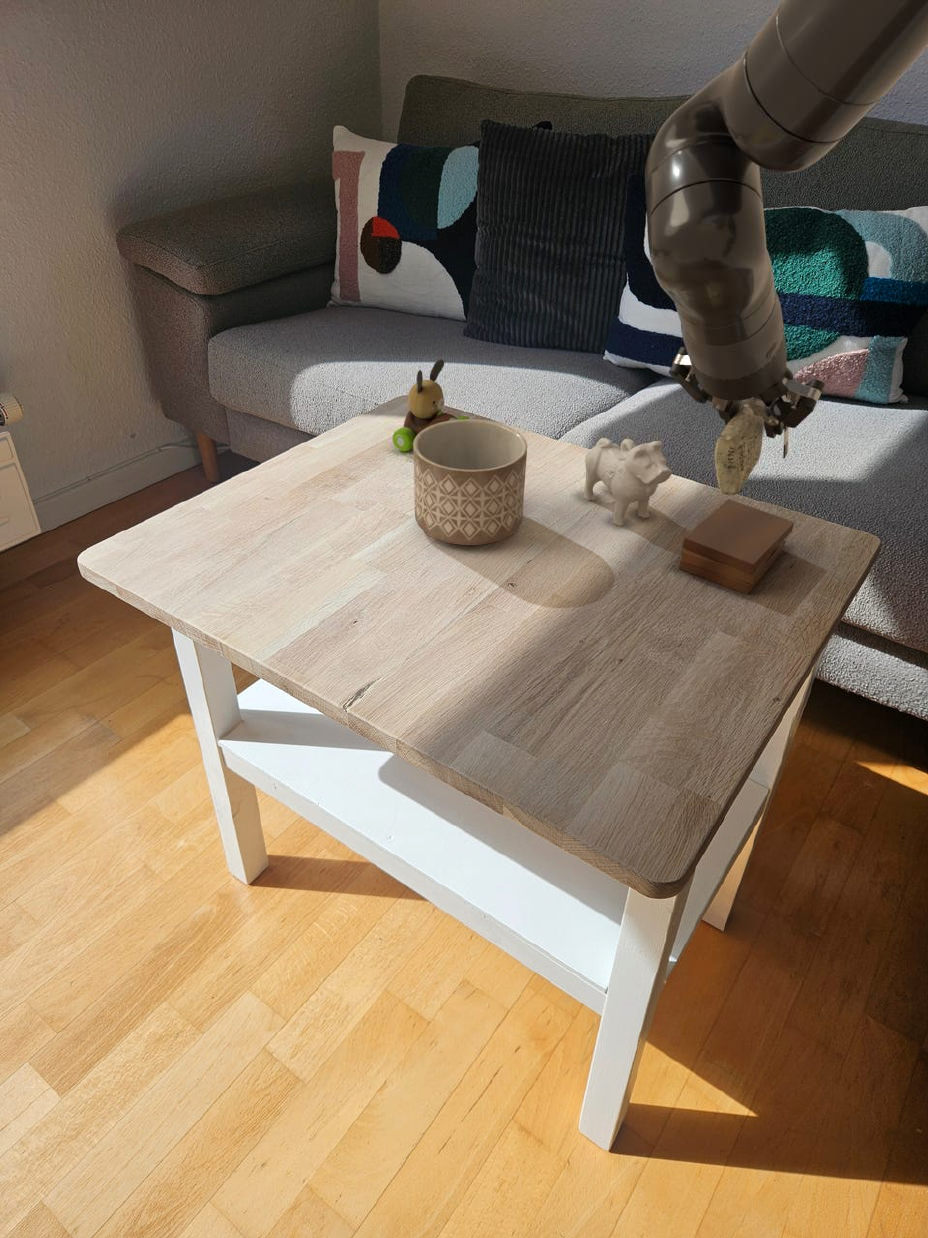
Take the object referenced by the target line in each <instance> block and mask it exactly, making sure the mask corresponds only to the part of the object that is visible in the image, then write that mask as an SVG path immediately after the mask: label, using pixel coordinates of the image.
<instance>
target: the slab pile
mask: <svg viewBox="0 0 928 1238" xmlns="http://www.w3.org/2000/svg"><path fill="white" fill-rule="evenodd" d="M794 526H795V521H792V520H789V519H786V518H784V517H782V516H778V515H776V514H773V513H770V512H767V511H764V510H761V509H758V508H757V507H752V506H750V505H747V504H744V503H741V502H739V501H736V500H733V499H731V498H727V499H726V500H725V501H724V502H723V503H722V504H721V505H720V506H718V507H717V508H715V509H714V511H713V512H712V513H710V515H708V516H707V517H706V518H705V519H704V520H702V521H701V523H699V524H698V525H697V526H696V527H694V528H693V529H692V530H691V531H690V532H689V533H688V534H686V536H684V537H683V542H682V546H681V547H682V548H683V551H682V553H681V557H680V559H679V565H678V570H681V571H684V572H686V573H689V574H692V575H695V576H697V577H700V578H703V579H705V580H708V581H710V582H713V583H716V584H717V585H718V584H719V585H721V586H724V587H726V588H729V589H732V590H735V591H737V592H740V593H743V594H745V595H748V594H749V593H750V592H751V590H753V588H754V587H755V586H756V584H757V583H758V582H759V580H760V579H761V578H762V577H763V575H764V574H765V573H766V572H767V571H768V569H769V568H770V567H771V566H772V564H773V563H774V561H776V559H777V558H778V557H779V555H780V554H781V553H782V552H783V551H784V549H785V545H786V542H787V541H786V540H785V539H787V537H789V535H790V534H791V533H792V532H793V529H794Z"/></svg>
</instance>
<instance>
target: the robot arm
mask: <svg viewBox="0 0 928 1238" xmlns="http://www.w3.org/2000/svg"><path fill="white" fill-rule="evenodd" d="M927 48H928V0H781V1H780V3H779V4H778V6H777V7H776V8H775V10H773V12H772V14H771V15H770V16H769V17H768V19H767V21H765V23H764V24H763V26H762V27H761V28H760V30H759V31H758V32H757V34H756V36H755V37H754V38H753V40H752V41H751V42H750V43H749V45H748V46H747V48H746V49H745V50H744V52H743V54H742V55H741V57H740V58H739V59H738V60H737V61H736V62H734V63H733V64H732V65H731V66H729V67H728V68H727V69H725V70H724V71H722V72H721V73H720V74H719V75H717V76H716V77H714V78H713V79H712V80H711V81H710V82H708V83H707V84H706V85H704V86H703V88H701V89H700V90H699V91H698V92H696V93H695V94H694V95H693V96H691V98H689V99H688V100H687V101H685V103H683V104H682V105H681V106H679V107H678V108H677V109H675V111H673V113H672V114H671V115H670V116H669V117H668V118H667V119H666V120H665V122H663V124H662V126H661V127H660V128H659V130H658V132H657V134H656V136H655V137H654V139H653V141H652V144H651V146H650V148H649V150H648V151H649V152H648V153H647V157H646V162H645V168H644V186H645V187H644V189H645V206H646V208H645V209H646V224H647V225H646V226H647V242H648V244H647V245H648V251H649V257H650V262H651V265H652V266H651V267H652V269H653V270H652V271H653V272H654V276H655V278H656V281H657V282H658V284H659V286H660V288H661V289H662V290H663V291H664V292H665V293H666V294H667V296H668V297H669V298H670V299H671V300H672V301H673V302H674V306H675V308H676V312H677V315H678V317H679V320H680V331H681V337H682V341H683V343H684V346H680V347H679V349H678V351H677V353H676V355H675V357H674V359H673V362H672V364H671V366H670V369H669V371H668V374H669V376H671V377H672V378H673V379H674V380H675V381H676V382H677V383H678V384H679V385H680V386H681V388H683V390H684V391H685V392H686V393H687V394H688V395H689V396H690V397H691V398H692V399H693V400H694V401H695V402H696V403H698V404H702V405H705V404H706V403H707V401H708V402H710V403H712V406H711V407H712V408H713V409H714V410H715V411H717V413H718V416H719V418H720V419H721V420H723V421H724V424H725V426H727V424H728V423H729V421H730V420H731V419H732V418H733V417H734V416H735V415H736V414H737V413H738V412H739V410H740V409H741V408H742V407H743V406H742V402H743V403H744V404H748V405H749V406H750V408H751V409H752V411H753V412H754V414H755V415H756V416H762V420H763V427H764V432H765V435H766V437H767V438H770V439H773V440H774V439H775V438H776V436H782V434H784V428H785V426H787V427H789V428H788V429H795V428H797V427H798V426H799V425H800V424H801V423H802V422H803V421H805V419H806V418H807V417H809V415H811V414H812V413H813V412H814V410H815V407H816V405H817V403H818V401H819V399H820V397H821V394H822V392H823V390H824V388H825V386H826V385H825V383H824V382H823V381H822V380H819V379H811V380H810V381H809V382H808V383H807V382H806V381H803V382H799V381H798V380H795V379H794V373H793V372H792V370H790V369H789V367H788V366H787V361H788V360H787V359H788V358H787V357H788V352H787V351H788V349H787V342H786V333H785V327H784V319H783V311H782V305H781V302H780V298H779V295H778V293H777V291H776V286H775V278H774V277H775V276H774V271H773V265H772V261H771V257H770V253H769V251H768V249H767V234H766V222H765V213H764V200H763V191H762V181H761V180H762V179H761V170H760V169H764V170H767V171H769V172H772V173H778V174H792V173H797V172H801V171H803V170H806V169H808V168H809V167H811V166H813V165H815V164H816V163H817V162H819V161H820V160H821V159H822V158H824V156H826V155H827V154H828V153H829V152H830V151H831V150H832V149H834V148H835V147H836V146H837V144H839V142H841V140H842V139H843V138H844V137H845V136H846V135H847V134H848V133H849V132H850V131H851V130H852V129H853V128H854V127H855V126H856V125H857V124H858V123H859V122H860V121H861V120H862V119H863V118H864V117H865V116H866V115H867V114H868V112H870V111H871V109H872V108H873V107H874V106H875V105H876V104H878V103H879V101H880V100H881V99H882V98H883V97H884V96H885V95H886V94H887V93H888V92H889V91H890V90H891V89H892V88H893V87H894V85H896V83H897V82H898V81H899V80H900V79H901V78H902V77H903V76H904V75H905V74H906V72H907V71H908V70H910V68H911V67H912V66H913V65H914V63H916V61H917V60H918V59H919V58H920V56H921V55H922V54H923V53H924V51H926V49H927ZM786 393H787V394H789V395H790V402H788V400H787V398H786ZM741 401H742V402H741Z"/></svg>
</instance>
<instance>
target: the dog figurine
mask: <svg viewBox="0 0 928 1238" xmlns="http://www.w3.org/2000/svg"><path fill="white" fill-rule="evenodd" d="M662 448H663V442H662V441H661V440H654V441H651V442H647V443H646V442H644V443H641V444H638V445H636V444H635V441H634V440H632V439H630V438H625V439H623V440H622V441H621V443H620V445H619V444H617V443H613V441H612V440H610V438H607V437H601V438H600V439H598V441H597V442H596V444H595V445H594V446H593V447H592V448H591V449H590V450H588V451H587V453H586V455H585V459H584V465H585V466H584V467H585V483H584V490H583V491H584V492H583V499H585V500H586V501H595V500H596V496H595V493H594V487H595V485H596V484H597V483H599V482H602V483H603V484H604V485H605V486H606V488H607V489H608V492H610V493H611V496H612V498H613V500H614V509H613V516H612V523H613V524H614V525H616V526H619V527H621V526H624V525H625V516H626V513H627V511H628V508H629V506H630V505H631V504H633V503H635V502H637V509H636V512H637V516H638V517H640V518H643V519H648V518H649V517H650V513H649V501H650V498H651V497H653V495H654V494H655V493H656V491H657V488H658V485H660V484H662V483H665V482H666V481H668V480H669V479H670V477H672V474H673V470H671V469H670V468H669V467H668V466H667V458H666V457H665V456H664V455H663V452H662Z"/></svg>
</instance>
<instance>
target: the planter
mask: <svg viewBox="0 0 928 1238" xmlns="http://www.w3.org/2000/svg"><path fill="white" fill-rule="evenodd" d="M412 448H413V489H414V490H413V492H414V495H413V496H414V500H413V501H414V520H415V522H416V524H417V526H418V527H419V528H420V529H421V530H422V531H423V532H424V533H426V534H427V535H429V536H430V537H432V538H434V539H436V540H439V541H442V542H445V543H448V544H455V545H459V546H460V545H461V546H478V545H486V544H491V543H495V542H498V541H502V540H504V539H506V538H508V537H509V536H511V535H512V534H514V533H515V532H516V531H517V530H518V529H519V528H520V526H521V524H522V521H523V516H524V515H523V513H524V498H525V487H526V485H525V484H526V472H527V471H526V469H527V457H528V443H527V440H526V439H525V437H524V436H523V435H522V434H521V432H519V431H517V430H515V429H514V428H512V427H510V426H508V425H505V424H503V423H499V422H495V421H491V420H485V419H472V418H469V419H460V420H451V421H445V422H441V423H437V424H434V425H432V426H430V427H427V428H426V429H424V430H422V431H421V432H420V433H419V434H418V435H417V436H416V438H415V440H414V443H413V447H412Z"/></svg>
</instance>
